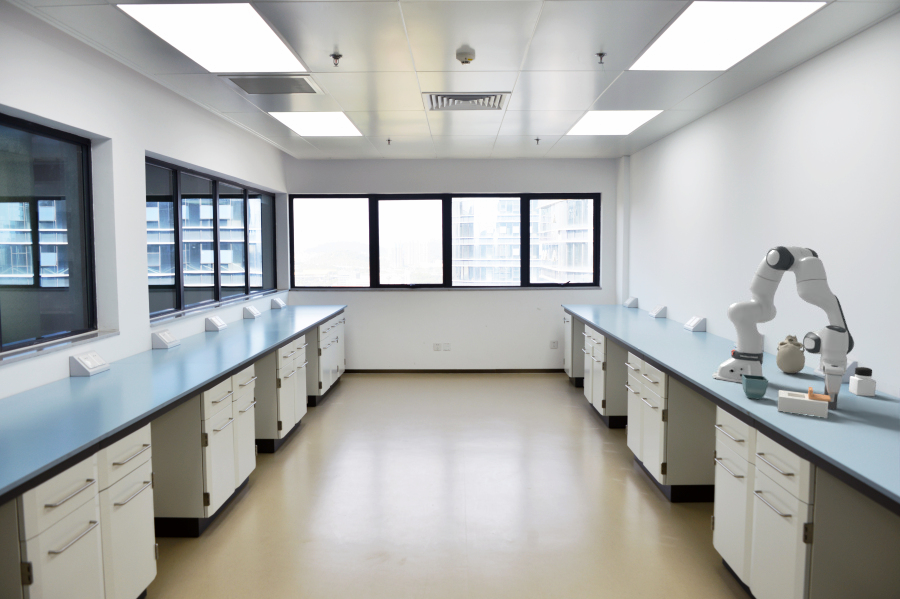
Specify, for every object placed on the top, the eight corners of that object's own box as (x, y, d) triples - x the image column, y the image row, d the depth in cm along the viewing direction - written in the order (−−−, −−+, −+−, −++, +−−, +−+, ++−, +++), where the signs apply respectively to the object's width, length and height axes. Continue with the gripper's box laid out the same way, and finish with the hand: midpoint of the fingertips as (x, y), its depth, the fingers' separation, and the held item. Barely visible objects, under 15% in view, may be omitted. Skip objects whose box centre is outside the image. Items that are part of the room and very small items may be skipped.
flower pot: (762, 396, 236) (764, 375, 235) (767, 401, 227) (768, 380, 227) (740, 394, 239) (741, 374, 238) (744, 399, 230) (745, 378, 229)
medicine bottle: (875, 396, 237) (877, 369, 236) (856, 395, 239) (859, 368, 238) (866, 392, 244) (868, 366, 243) (848, 391, 246) (850, 365, 245)
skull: (803, 372, 284) (806, 334, 282) (804, 377, 271) (807, 338, 270) (775, 369, 291) (778, 332, 289) (774, 374, 278) (777, 336, 276)
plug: (823, 408, 218) (826, 379, 217) (823, 405, 222) (825, 377, 221) (836, 409, 216) (838, 380, 215) (835, 407, 220) (837, 378, 219)
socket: (777, 411, 213) (778, 396, 212) (777, 404, 223) (778, 390, 223) (826, 418, 205) (828, 403, 204) (824, 410, 215) (825, 395, 214)
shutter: (808, 398, 209) (809, 390, 209) (807, 394, 215) (808, 386, 215) (830, 401, 206) (831, 392, 206) (829, 397, 212) (829, 389, 211)
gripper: (821, 360, 228) (819, 392, 229) (825, 369, 211) (822, 404, 212) (840, 362, 225) (837, 395, 226) (845, 372, 207) (842, 407, 209)
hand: (830, 399), depth 219 cm, fingers closed on plug, 4 cm apart
